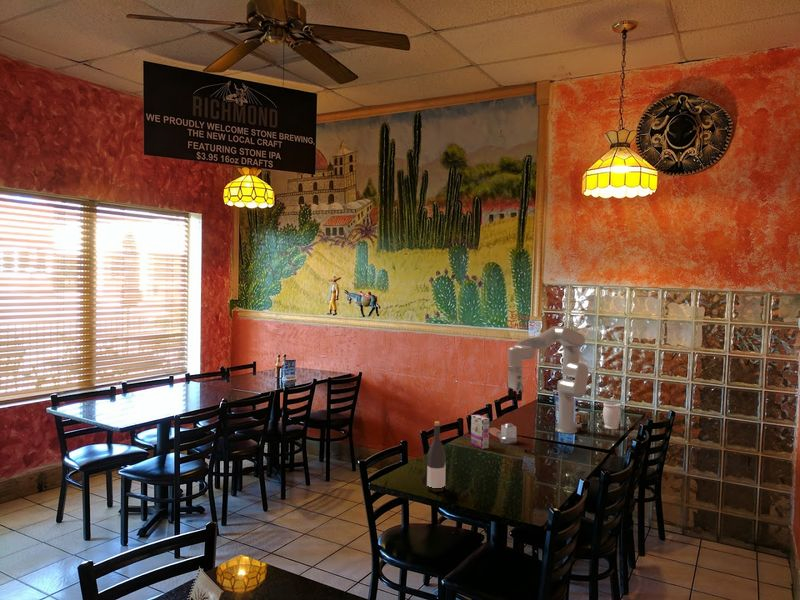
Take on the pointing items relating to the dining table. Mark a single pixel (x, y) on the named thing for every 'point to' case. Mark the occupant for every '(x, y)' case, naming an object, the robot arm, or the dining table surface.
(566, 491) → the dining table surface
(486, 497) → the dining table surface
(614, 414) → the jar
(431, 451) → the wine bottle
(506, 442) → the small pan
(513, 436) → the socket
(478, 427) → the candy bar box
